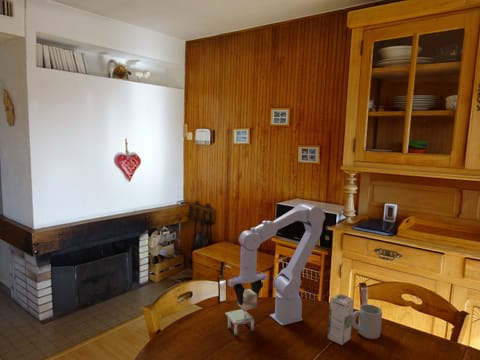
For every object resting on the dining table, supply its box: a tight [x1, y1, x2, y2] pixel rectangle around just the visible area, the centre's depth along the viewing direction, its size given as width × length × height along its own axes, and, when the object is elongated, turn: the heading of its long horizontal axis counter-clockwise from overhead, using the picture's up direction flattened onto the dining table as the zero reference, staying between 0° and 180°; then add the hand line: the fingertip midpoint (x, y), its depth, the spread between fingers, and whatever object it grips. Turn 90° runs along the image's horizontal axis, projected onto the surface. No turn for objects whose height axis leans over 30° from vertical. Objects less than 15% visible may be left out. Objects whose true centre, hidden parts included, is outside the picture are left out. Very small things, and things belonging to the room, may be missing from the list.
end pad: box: [224, 308, 249, 322], centre depth 131 cm, size 7×7×1 cm
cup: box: [352, 303, 383, 340], centre depth 121 cm, size 7×10×9 cm
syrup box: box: [326, 293, 355, 346], centre depth 117 cm, size 6×6×14 cm
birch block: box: [236, 288, 258, 312], centre depth 124 cm, size 5×5×5 cm
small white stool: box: [227, 310, 255, 336], centre depth 122 cm, size 8×6×4 cm
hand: (247, 302), depth 124 cm, fingers closed on birch block, 5 cm apart
